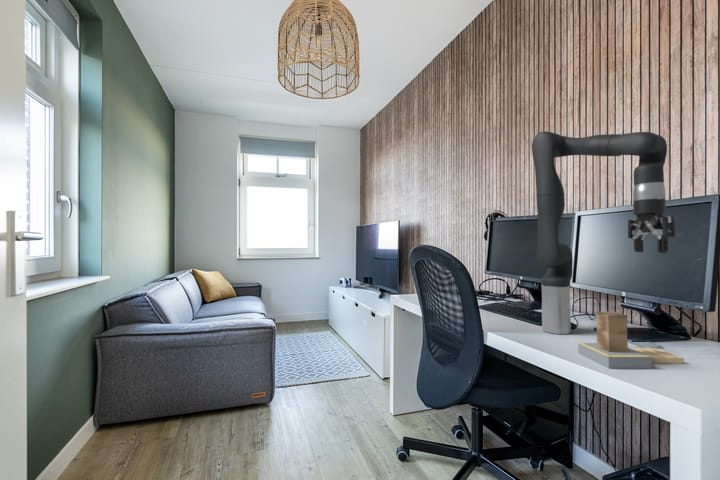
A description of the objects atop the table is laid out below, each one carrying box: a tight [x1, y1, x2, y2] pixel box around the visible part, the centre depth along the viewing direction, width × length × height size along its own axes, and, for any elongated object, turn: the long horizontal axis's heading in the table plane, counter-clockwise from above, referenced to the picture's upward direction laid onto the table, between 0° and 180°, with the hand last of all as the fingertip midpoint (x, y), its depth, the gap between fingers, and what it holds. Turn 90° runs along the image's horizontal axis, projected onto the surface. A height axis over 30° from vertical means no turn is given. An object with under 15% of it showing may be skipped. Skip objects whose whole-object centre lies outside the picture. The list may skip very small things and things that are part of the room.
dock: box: [577, 342, 652, 369], centre depth 96 cm, size 13×11×3 cm
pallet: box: [628, 346, 685, 365], centre depth 97 cm, size 10×10×2 cm
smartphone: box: [627, 341, 665, 350], centre depth 113 cm, size 7×1×15 cm
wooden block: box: [595, 311, 629, 352], centre depth 96 cm, size 5×5×10 cm
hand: (650, 252), depth 103 cm, fingers open, 8 cm apart
